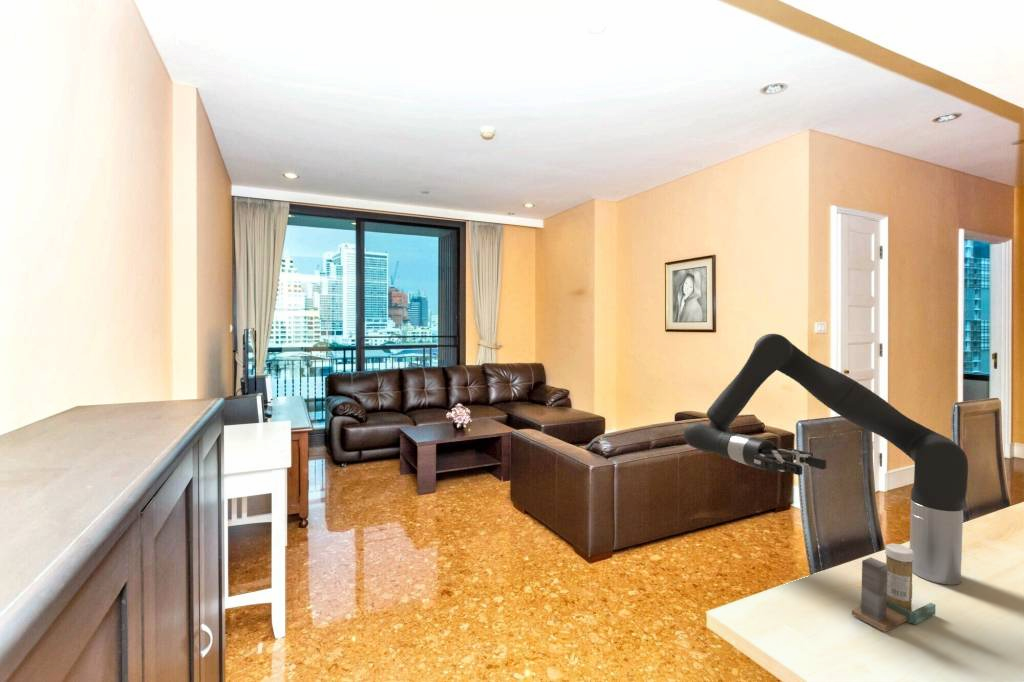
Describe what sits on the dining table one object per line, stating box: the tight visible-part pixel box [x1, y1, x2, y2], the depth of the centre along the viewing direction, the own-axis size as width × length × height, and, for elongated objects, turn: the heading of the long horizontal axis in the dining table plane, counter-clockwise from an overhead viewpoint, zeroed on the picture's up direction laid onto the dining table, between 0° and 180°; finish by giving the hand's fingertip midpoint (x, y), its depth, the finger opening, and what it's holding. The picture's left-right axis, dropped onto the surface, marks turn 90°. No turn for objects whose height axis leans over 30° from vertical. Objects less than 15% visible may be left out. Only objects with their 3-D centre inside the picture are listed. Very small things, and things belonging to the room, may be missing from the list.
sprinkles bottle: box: [884, 543, 914, 611], centre depth 99 cm, size 5×5×13 cm
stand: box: [851, 557, 936, 633], centre depth 98 cm, size 16×9×12 cm, turn 115°
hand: (813, 467), depth 108 cm, fingers open, 8 cm apart
